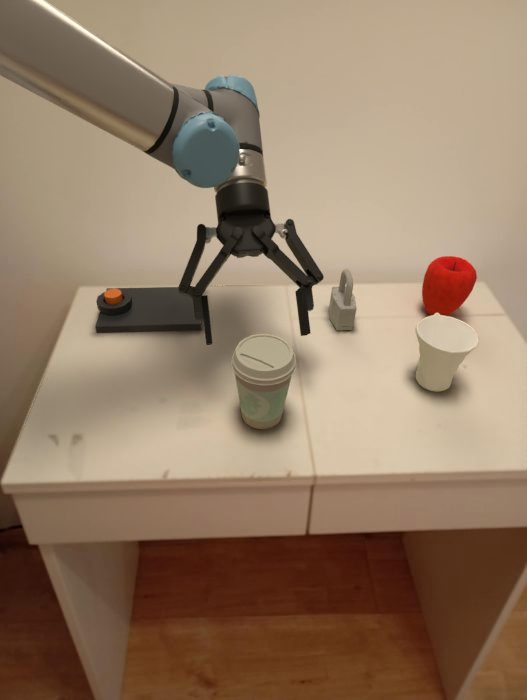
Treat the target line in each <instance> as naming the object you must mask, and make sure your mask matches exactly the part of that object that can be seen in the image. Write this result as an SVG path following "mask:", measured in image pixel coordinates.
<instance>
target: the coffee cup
mask: <svg viewBox="0 0 527 700" xmlns="http://www.w3.org/2000/svg"><path fill="white" fill-rule="evenodd" d="M231 356H232V357H231V362H230V363H231V368H232V370H233V372H234V377H235V383H236V388H237V394H238V395H237V397H238V401H239V408H240V414H241V418H242V421H243V422H244V423H245V424H246V425H247V426H248V427H251V428H253V429H257V430H267V429H272V428H274V427H275V426H276V425H278V424H279V423H280V422H281V419H282V416H283V412H284V408H285V405H286V401H287V396H288V392H289V389H290V385H291V380H292V377H293V375H294V373H295V372H296V369H297V358H296V354H295V352H294V350H293V347H292V346H291V344H290V343H289V342H288V341H287V340H286V339H284V338H282V337H280V336H278V335H275V334H270V333H256V334H251V335H248V336H247V337H244V338H243V339H241V340H240V341H239V343H238V344H237V345H236V347H235V350H233V353H232V355H231Z"/></svg>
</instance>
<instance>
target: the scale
mask: <svg viewBox="0 0 527 700" xmlns="http://www.w3.org/2000/svg"><path fill="white" fill-rule="evenodd" d="M109 289H119V290H120V291H121V292H122V298H123V300H122V302H120V303H118V304H107V303H106V301H105V297H104V293H105V291H107V290H109ZM105 291H104V292H102V293H101V294H99V295H98V296H97V298H96V306H97V310H98V311H99V313H98V316H97V320H96V323H95V331H96V333H97V334H98V333H99V334H100V333H137V332H173V331H174V332H175V331H177V332H178V331H202V322H203V321H196V319H195V314H194V305H193V299H192V298H191V297H189V296H185V295H184V296H183V295H180V293H179V286H167V287H166V286H157V287H154V286H152V287H107V288H106V289H105Z"/></svg>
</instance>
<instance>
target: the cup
mask: <svg viewBox="0 0 527 700" xmlns="http://www.w3.org/2000/svg"><path fill="white" fill-rule="evenodd" d="M415 333H416V338H417V342H418V347H419V348H418V351H419V357H418V361H417V362H418V363H417V368H416V372H415V380H416V381H417V383H418V384H419V386H420V387H422V388H423V389H425V390H427V391H429V392H439V393H440V392H443V391H446V390H448V389H449V388H450V387H451V386H452V382H453V378H454V376H455V373H456V371H458V368H459V367H460V365H461V364H462V363H463V361H464V360H465V358H466V357H467V356H469V354H470V353H472V352H473V351H474V350H475V349H476V348H477V347H478V345H479V339H480V338H479V335H478V333H477V332H476V330H475V329H474V328H473V327H472V326H471V325H469V324H468V323H467V322H465V321H463V320H461V319H459V318H456V317H453V316H450V315H449V316H443V315H440V314H439V313H435V314H434V315H432V316H431V315H428V316H426V317H424V318H422V319H420V320H419V321H418V323H417V324H416V327H415Z"/></svg>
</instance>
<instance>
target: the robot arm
mask: <svg viewBox="0 0 527 700" xmlns="http://www.w3.org/2000/svg"><path fill="white" fill-rule="evenodd" d="M0 77H2V78H5V79H6V80H8V81H10V82H12V83H14V84H15V85H17V86H20V87H21V88H23V89H25V90H26V91H29V92H31V93H33V94H35V95H37V96H38V97H40V98H42V99H43V100H45V101H48V102H49V103H52V104H53V105H55V106H57V107H59V108H61V109H62V110H65V111H67V112H69V113H70V114H72V115H74V116H76V117H77V118H80V119H81V120H83V121H86V123H89V124H91V125H93V126H95V127H97V128H99V129H100V130H102V131H104V132H106V133H107V134H109V135H111V136H114V137H115V138H117V139H119V140H121V141H123V142H125V143H127V144H129V145H130V146H132V147H134V148H136V149H137V150H140V152H143V153H145V154H146V155H148V156H149V157H151V158H153V159H155V160H157V161H159V162H161V163H162V164H164V165H166V166H168V167H170V168H172V169H173V170H174V171H175V172H176V173H177V175H178V176H179V177H180V178H181V179H182V180H184V181H186V182H187V183H189V184H190V185H192V186H194V187H197V188H201V189H211V188H213V191H214V192H215V195H214V197H215V198H214V200H215V208H216V217H217V218H216V219H217V226H216V227H215V226H214V227H213V226H206V225H205V224H204V223H199V224H198V225H197V227H196V241H195V244H194V246H193V249H192V251H191V254H190V257H189V259H188V261H187V264H186V267H185V269H184V272H183V274H182V277H181V279H180V282H179V285H178V287H179V293H180V295H183V296H184V295H185V296H189V297H191V298H192V299H193V305H194V314H195V319H196V321H202V322H203V329H204V338H205V346H212V345H213V343H214V342H213V334H212V324H211V317H210V306H209V298H208V297H209V296H208V294H205V295H203V294H204V293H205V292H206V290H207V289H208V287H209V286H210V285H211V283H212V281H213V280H214V279H215V277H216V276H217V275H218V273H219V271H220V270H221V269H222V267H223V266H224V264H226V262H227V261H228V259H229V258H230V257H231V255H232V256H233V257H236V258H237V259H243V258H246V257H251V258H256V257H257V258H258V257H259V256H261V255H264V256H265V257H266V259H268V260H271V262H272V263H274V264H275V265H276V266H277V267H278V268H279V269H280V270H281V271H282V272H283V273H284V274H285V275H286V277H288V278H289V279H290V280H291V281H292V282H293V283H294V284H295V285H296V286H297V287H298V289H297V290H295V300H296V301H295V302H296V306H297V316H298V324H299V333H300V337H303V336H304V337H305V336H308V335H310V334H311V324H310V317H309V312H312V311H314V308H315V302H314V295H313V287H315V286H316V285H319V284H320V283H321V282H322V281H323V280H324V278H325V277H324V274H323V272H322V271H321V269H320V267H319V266H318V264H317V263H316V261H315V259H314V258H313V257H312V255H311V254H310V253H311V252H309V251H308V248H307V247H306V246H305V244H304V242H303V241H302V239H301V238H300V236H299V234H298V232H297V229H296V228H297V227H296V224H295V221H294V219H292V218H288V219H286V220H285V222H279V223H274V221H273V220H272V216H271V215H272V214H271V208H270V207H271V205H270V199H269V191H268V188H267V186H268V185H267V184H268V181H267V173H266V166H265V161H264V149H263V140H262V133H261V125H260V123H261V122H260V117H261V116H260V110H259V106H258V100H257V96H256V91H255V88H254V86H253V84H252V83H251V82H250V81H249V79H247V78H245V77H243V76H241V75H238V74H234V73H233V74H232V73H231V74H229V75H228V76H225V75H223V74H222V75H217V76H216V77H214V78H212V79H210V80H209V81H208V82H207V83H206V85H205V86H204V89H199V88H195V87H190V86H185V85H181V84H178V83H177V84H176V83H172V82H169V81H167V80H166V79H164V78H163V77H161V75H159V74H157V73H156V72H154V71H152V70H151V69H149V68H148V67H147V66H145V65H144V64H142V63H141V62H139V61H137V60H136V59H135V58H133V57H131V56H130V55H129V54H127V53H126V52H124V51H123V50H121V49H120V48H118V47H117V46H115V45H113V43H110V42H109V41H107V40H106V39H105V38H103V37H102V36H100V35H99V34H97V33H95V32H94V31H93V30H92V29H90V28H88V27H87V26H85V25H84V24H82V23H80V21H78V20H76V19H75V18H73V17H72V16H70V14H67V13H66V12H65V11H64V10H62V9H60V8H58V7H57V6H55V5H54V4H52V3H51V2H49V1H48V0H0ZM275 234H278V235H279V237H280V238H281V239H282V240H283V239H284V241H285V243H286V245H287V247H288V248H289V250H290V251H291V252H292V254H293V257H295V259H296V260H297V263H298V264H299V265H300V267H301V268H302V269H301V268H300V267H299V266H298V265H297V264H296V263H295V262H294V261H293V260H292V259H291V258H290V257H288V256H287V255H286V254H285V252H284V251H282V249H280V247H279V245H278V244H277V243H276V241H274V240H273V238H274V236H275ZM214 237H216V239H217V240H218V241H219V242H220V244H221V245H222V247H221V248H220V250H219V251H218V254H216V256H215V258H214V259H213V260H212V262H211V263H210V264H209V266H208V267H207V268H206V271H204V272H203V274H202V276H201V277H200V279H199V280H198V282H197V283H196V284H195V286H193V285H192V282H193V279H194V277H195V275H196V272H197V270H198V267H199V264H200V262H201V259H202V256H203V254H204V252H205V247H206V244H210V243H211V242H212V239H213V238H214Z"/></svg>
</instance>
